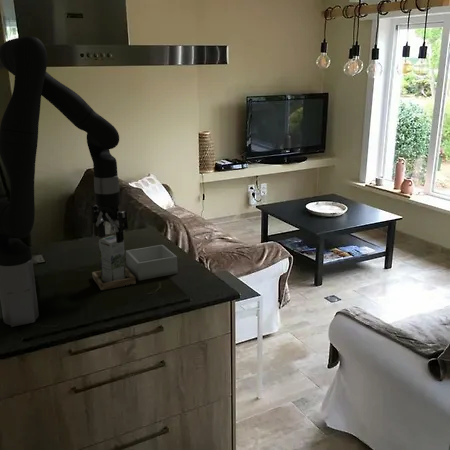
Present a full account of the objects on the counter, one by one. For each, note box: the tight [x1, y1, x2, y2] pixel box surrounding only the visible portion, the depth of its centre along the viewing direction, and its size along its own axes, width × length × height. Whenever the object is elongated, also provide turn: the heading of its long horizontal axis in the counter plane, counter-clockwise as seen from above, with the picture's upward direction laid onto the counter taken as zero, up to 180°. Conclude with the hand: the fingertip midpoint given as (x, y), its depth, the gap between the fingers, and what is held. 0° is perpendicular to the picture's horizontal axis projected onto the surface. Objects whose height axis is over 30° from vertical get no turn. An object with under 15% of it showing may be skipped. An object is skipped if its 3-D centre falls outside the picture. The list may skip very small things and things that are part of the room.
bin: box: [125, 244, 179, 281], centre depth 177 cm, size 14×14×6 cm
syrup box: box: [98, 235, 127, 283], centre depth 167 cm, size 6×6×14 cm
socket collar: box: [91, 266, 137, 291], centre depth 169 cm, size 11×11×2 cm
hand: (110, 239), depth 165 cm, fingers open, 8 cm apart
